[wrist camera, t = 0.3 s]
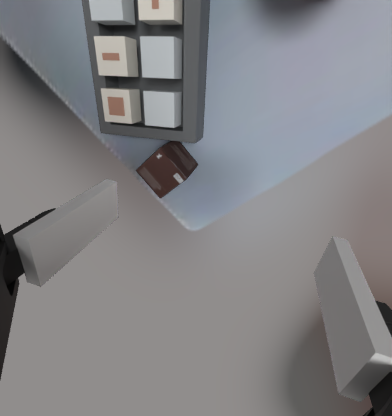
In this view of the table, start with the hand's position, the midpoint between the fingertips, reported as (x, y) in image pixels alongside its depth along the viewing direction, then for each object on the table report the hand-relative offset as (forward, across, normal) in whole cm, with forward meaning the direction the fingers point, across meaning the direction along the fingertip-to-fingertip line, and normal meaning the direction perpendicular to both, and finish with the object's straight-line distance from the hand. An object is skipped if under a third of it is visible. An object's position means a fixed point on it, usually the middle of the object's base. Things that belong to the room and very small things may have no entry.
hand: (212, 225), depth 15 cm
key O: (+23, -20, +14) cm, 34 cm away
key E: (+23, -12, +2) cm, 27 cm away
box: (+27, -12, -7) cm, 30 cm away
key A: (+23, -14, +14) cm, 31 cm away
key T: (+23, -20, +8) cm, 32 cm away
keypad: (+27, -16, +8) cm, 33 cm away
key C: (+23, -19, +2) cm, 30 cm away
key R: (+23, -13, +8) cm, 28 cm away
